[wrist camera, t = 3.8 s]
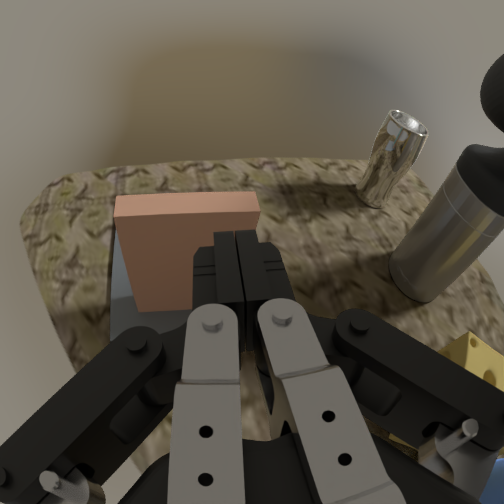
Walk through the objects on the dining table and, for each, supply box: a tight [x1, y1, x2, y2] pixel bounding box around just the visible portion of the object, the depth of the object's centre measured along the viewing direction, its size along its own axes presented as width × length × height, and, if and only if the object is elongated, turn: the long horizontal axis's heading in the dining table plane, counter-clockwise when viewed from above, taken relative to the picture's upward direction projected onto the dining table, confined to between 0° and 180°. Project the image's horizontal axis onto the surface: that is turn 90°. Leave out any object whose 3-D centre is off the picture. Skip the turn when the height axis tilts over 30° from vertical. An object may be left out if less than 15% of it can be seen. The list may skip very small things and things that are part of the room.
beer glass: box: [355, 110, 429, 208], centre depth 44 cm, size 7×7×15 cm
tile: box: [114, 192, 261, 312], centre depth 27 cm, size 10×2×14 cm, turn 101°
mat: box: [110, 230, 192, 342], centre depth 36 cm, size 16×20×1 cm
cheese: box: [389, 332, 504, 456], centre depth 25 cm, size 10×11×10 cm
